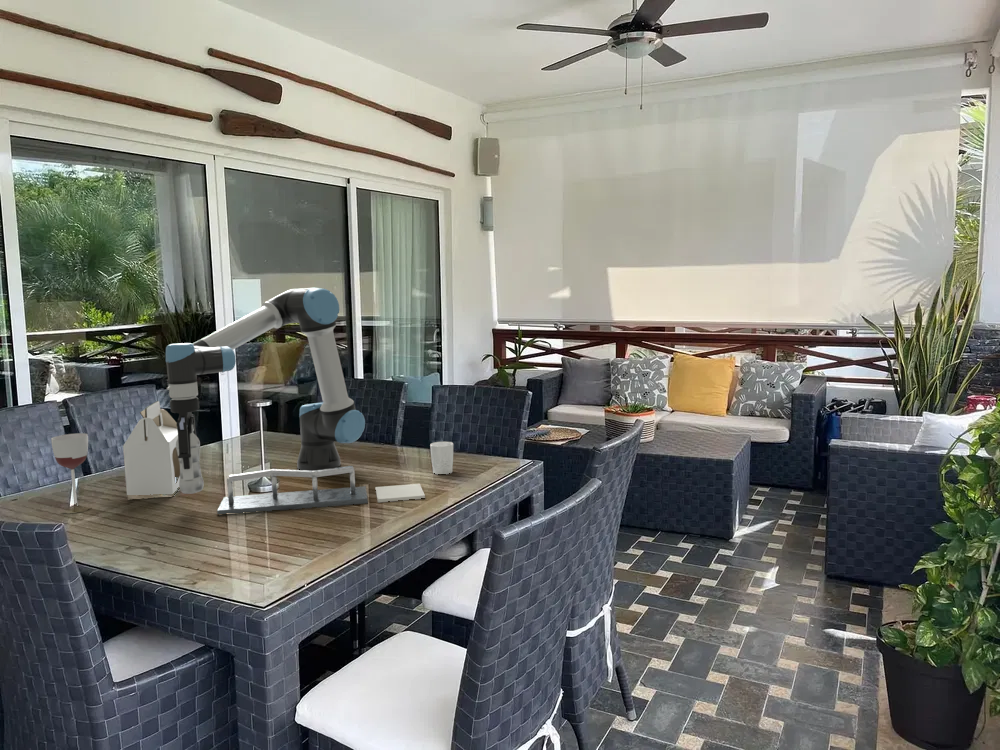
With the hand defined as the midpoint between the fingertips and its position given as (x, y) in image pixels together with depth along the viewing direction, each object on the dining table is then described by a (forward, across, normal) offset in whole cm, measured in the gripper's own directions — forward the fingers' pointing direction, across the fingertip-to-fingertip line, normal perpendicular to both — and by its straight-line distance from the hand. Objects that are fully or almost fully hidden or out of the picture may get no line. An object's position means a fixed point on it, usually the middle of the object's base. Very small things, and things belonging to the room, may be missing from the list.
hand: (190, 476), depth 213 cm
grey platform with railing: (+11, 0, +29) cm, 30 cm away
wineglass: (+10, -11, -34) cm, 37 cm away
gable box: (+11, -28, -15) cm, 33 cm away
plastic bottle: (+5, 0, 0) cm, 5 cm away
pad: (+11, 0, +60) cm, 61 cm away
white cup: (+12, -23, +76) cm, 80 cm away
